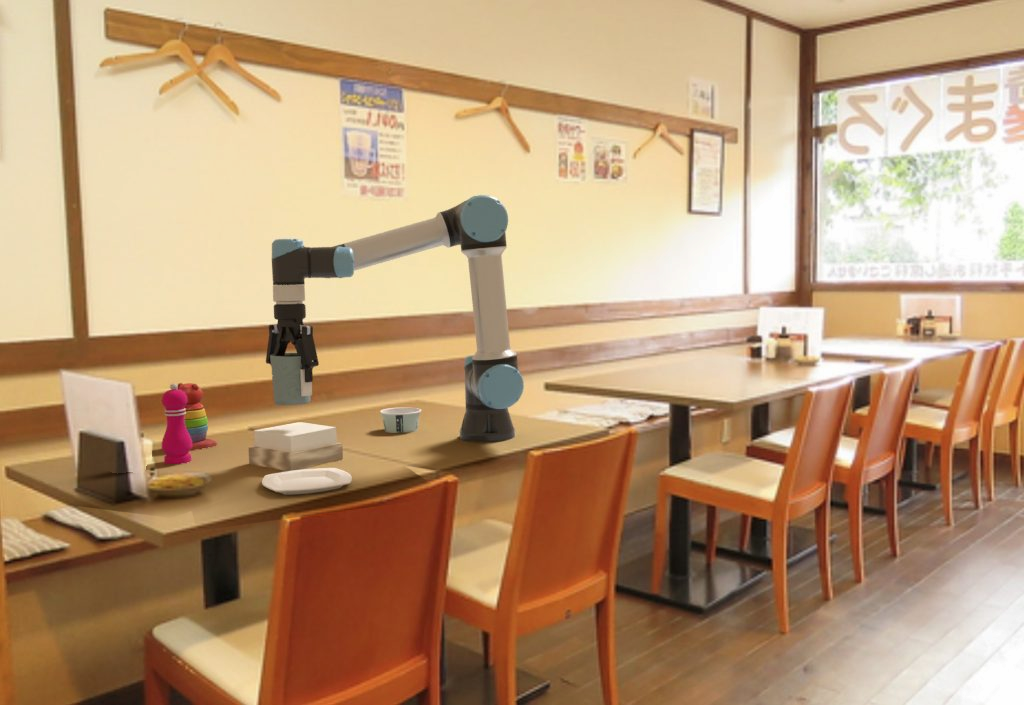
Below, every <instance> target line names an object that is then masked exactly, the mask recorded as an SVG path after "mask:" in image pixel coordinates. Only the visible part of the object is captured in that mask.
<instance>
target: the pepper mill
mask: <svg viewBox="0 0 1024 705" xmlns="http://www.w3.org/2000/svg"><path fill="white" fill-rule="evenodd" d="M177 385H178V384H177V383H175V382H173V383H171V384H170V385H169V388H170V389H169V390H166V391H165V392H164V393H163V394H162V397H161V404H162V406H163V407H164V408H165V409H164V416H166V428H165V432H164V435H163V437H162V439H161V450H162V451H163V453H165V456H164V464H165V465H167V464H178V465H182V464H181V463H185V464H188V463H187V462H189V463H191V462H192V454H191V453H190V452H191V451H192V450H191V448H192V440H191V437H190V435H189V433H188V431H187V429H186V426H185V421H184V414H186V412H185V410H186V409H185V408H184V407H185V405H186V404H187V395H186V394H185V392H183V391H182V390H178V389H177V388H178V386H177ZM190 450H191V451H190ZM190 461H191V462H190Z"/></svg>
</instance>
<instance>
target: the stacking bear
mask: <svg viewBox="0 0 1024 705" xmlns="http://www.w3.org/2000/svg"><path fill="white" fill-rule="evenodd" d="M177 386H178V388H177V389H178V390H182V391H183V392H185V394H186V395H187V404H186V405H185V407H184V408H185V409H186V410H185V412H186V414H184V421H185V426H186V429H187V431H188V433H189V435H190V437H191V440H192V448H191V451H196V450H195V449H200V450H203V449H202V448H206V449H209V448H208V447H210V448H214V447H217V446H218V442H217V440H215V439H212V438H207V434H208V433H207V432H208V428H209V424H208V423H209V420H208V416H207V413H206V409H205V408H204V405H203V404H202V403H201V400H202V399H203V396H204V392H203V390H202V388H201V387H200V386H199V385H198V384H197V383H182V382H180V383H178V384H177ZM216 445H217V446H216ZM213 446H214V447H213Z"/></svg>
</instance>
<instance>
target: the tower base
mask: <svg viewBox="0 0 1024 705" xmlns="http://www.w3.org/2000/svg"><path fill="white" fill-rule="evenodd" d="M343 452H344V450H343V443H342V442H340V441H339V442H338V441H337V443H336V444H331V445H326V446H322V447H317V448H312V449H308V450H303V451H298V452H294V453H289V452H283V451H277V450H272V449H266V448H260V447H255V445H252V446H248V464H249V465H253V466H259V467H264V468H269V469H270V468H271V469H274V470H281V471H284V472H286V471H293V470H302V469H309V468H311V467H315V466H318V465H319V466H320V465H325V464H327V463H332V462H333V463H334V462H339V461H343V460H342V459H344V456H343V454H344V453H343Z"/></svg>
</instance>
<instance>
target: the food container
mask: <svg viewBox="0 0 1024 705" xmlns="http://www.w3.org/2000/svg"><path fill="white" fill-rule="evenodd" d="M421 412H422V409H421V408H417V407H407V406H406V407H403V406H402V407H400V406H399V407H391V408H384V409H381V410H380V411H379V414H381V417H382V424H383V428H384V432H386V433H389V434H404V433H411V432H416V431H418V430H419V424H420V423H419V421H420V413H421Z"/></svg>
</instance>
